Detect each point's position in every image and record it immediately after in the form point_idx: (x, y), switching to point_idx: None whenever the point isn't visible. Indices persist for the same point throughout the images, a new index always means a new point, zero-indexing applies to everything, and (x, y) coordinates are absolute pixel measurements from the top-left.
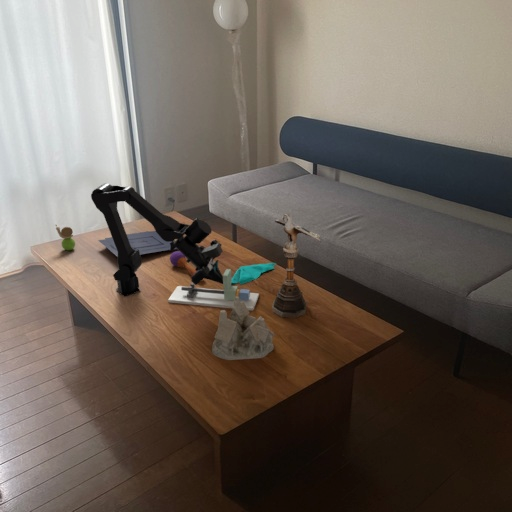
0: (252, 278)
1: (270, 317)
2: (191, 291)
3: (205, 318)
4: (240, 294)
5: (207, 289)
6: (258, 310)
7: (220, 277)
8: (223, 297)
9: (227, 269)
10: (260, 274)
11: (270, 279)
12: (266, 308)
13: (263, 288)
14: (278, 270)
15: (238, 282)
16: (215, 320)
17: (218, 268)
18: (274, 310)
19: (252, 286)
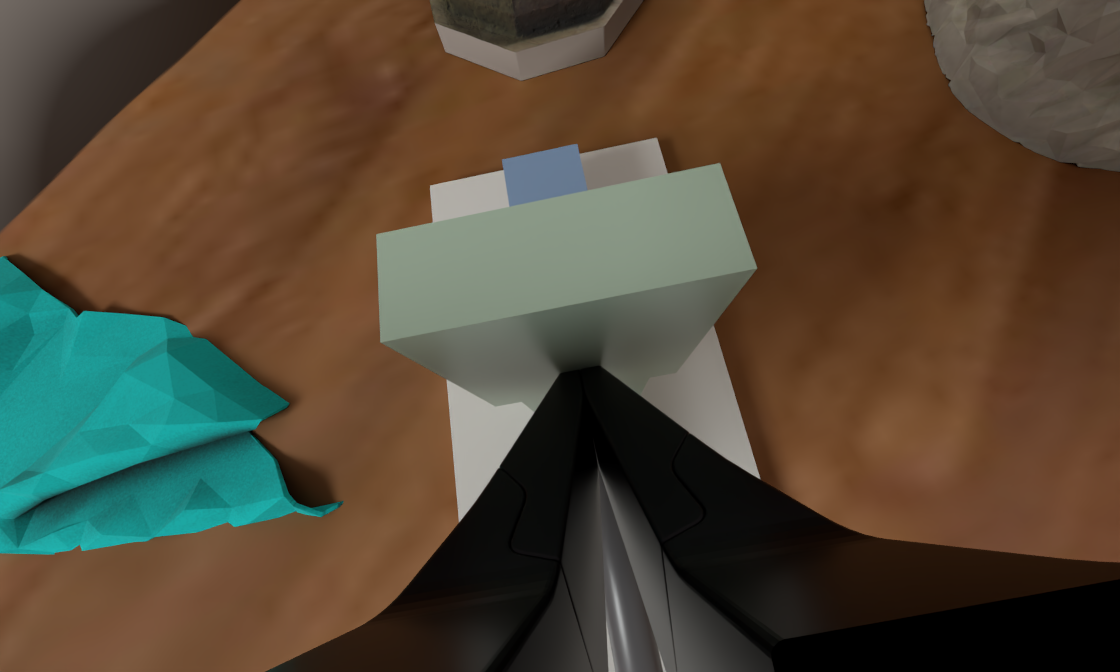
0: (177, 342)
1: (684, 37)
2: None
3: (979, 449)
4: None
5: (634, 654)
6: (634, 127)
7: (646, 410)
8: None
9: (407, 300)
10: (103, 312)
11: (176, 223)
12: (587, 96)
13: (319, 215)
14: (34, 225)
15: (253, 438)
16: (948, 347)
17: (441, 561)
18: (615, 25)
19: (303, 300)
